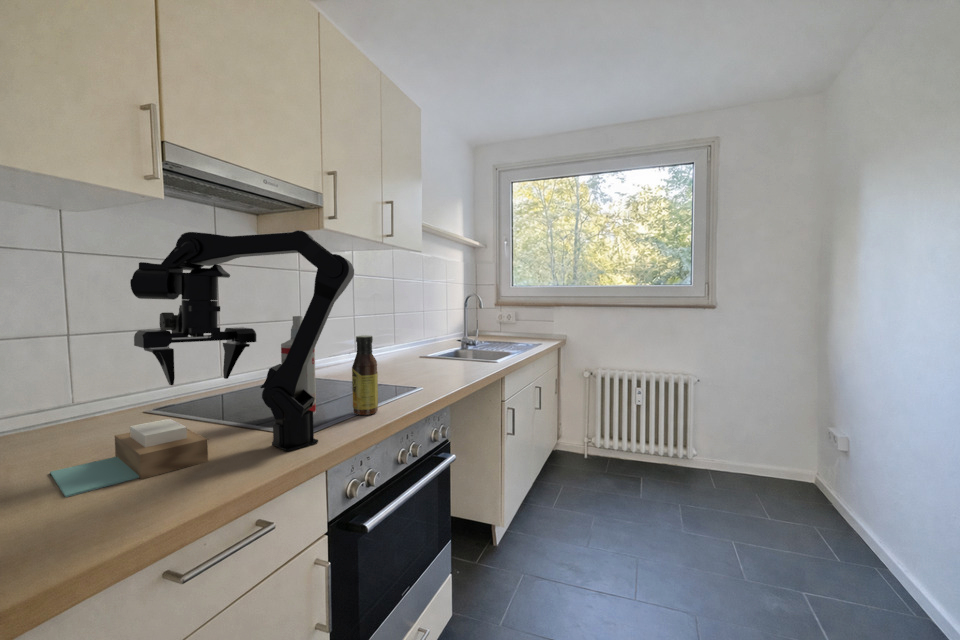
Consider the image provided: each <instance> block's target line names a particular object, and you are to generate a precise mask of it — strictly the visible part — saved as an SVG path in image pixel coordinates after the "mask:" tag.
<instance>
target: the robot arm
mask: <svg viewBox="0 0 960 640" xmlns="http://www.w3.org/2000/svg"><path fill="white" fill-rule="evenodd" d="M175 243H176V244H175V247H174V248H173V249H172V250H171V251H170V253H168V255H167V256H166V257H165V258H164V260H163V261H162V262H161V263H151V262H142V261H141V262H138V268H137V269H136V270H135V271H134V272H133V275H132V276H131V277H132V278H131V279H130V282H129V283H130V289H131V292H132V294H133V295H134V296H135V297H136V298H137V299H141V300H176V299H178V298H179V297H180V296H181V304H179V308H178V314H175V313H174V312H161V313H160V314H159V329H141V330H137V331H136V332H135V333H134V336H133V346H134V347H138V348H142V349H143V350H144V351H145V352H149V353H152V354H153V355H154V356H155V358H156V360H157V361H158V363H159V365H160V367H161V369H162V371H163V374H164V376H165V378H166V380H167V384H168V385H169V386H174V385H175V378H176V377H175V375H176V374H175V350H174V349H175V348H170V346H171V344H175V343H193V342H195V343H196V342H215V341H216V342H217V341H226V342H222V347H223V351H224V356H223V370H222V373H223V379H225V380H227V379H229V377H230V375H231V373H232V372H233V370H234V367H235V365H236V363H237V361H238V359H239V358H240V356H241V355H242V354H243V352H244V350H245V349H246V348H250V346H251V345H250V344H251V343H257V332H256V330H255V329H254V328H252V327H251V328H250V327H243V326H241V327H225V328H224V331H223V330H222V331H221V327H219V325H218V324H219V322H218V318H219V317H218V313H219V312H221V306H220V305H219V303H218V302H219V301H218V300H219V299H218V298H219V297H218V295H219V293H218V292H219V289H218V288H219V285H218V284H219V282H218V281H219V278H228V279H229V278H230V277H231V274H230V273H229V272H228V271H226V270H225V269H224V268H223V267H222V265H220V264H223V263H224V264H225V263H227V262H230V261H232V260H236V259H239V258H245V257H249V258H250V257H260V256H261V257H262V256H272V255H273V256H274V255H284V254H285V255H286V254H297V253H298V254H299V255H301V256H302V257H303V258H304V259H305V260H307V261H308V262H309V263H310V264H311V265H313V266H314V267H315V268H316V269H317V270H316V274H315V278H314V285H313V286H314V290H313V296H312V298H311V300H310V303H309V305H308V307H307V310H306V311H305V314H304V316H303V317H302V318H303V320H302V323H301V325H300V327H299V330H298V332H297V334H296V336H295V339H294V341H293V343H292V345H291V348H290V350H289V352H288V355H287V357H286V359H285V361H284V362H283V364H281V363H279V364H276V365H274V366H272V367H270V368H268V371H267V375H266V378H265V381H264V382H263V384H261V386H260V387H259V388H260V389H262V393H261V399H262V401H263V403H264V404H265V405H266V407H268V408H269V409H270V410H271V413H272V416H273V418H274V423H273V424H272V437H273V441H272V442H271V446H274V447H276V448H278V449H280V450H283V451H285V452H290V451H294V450H297V449H301V448H304V447H307V446H311V445H314V444H317V443H319V439H316V438H314V437H315V436H314V416H313V411H310V410H309V409H310V408H312V406H313V403H314V400H315V398H314V397H313V396H312V395H310V394H309V393H308V392H307V391H306V390H305V389H303V388H304V384H305V380H306V370H307V364H308V362H309V359H310V357H311V355H312V353H313V350H314V348H316V345H317V344H318V341H319V338H320V336H321V335H322V332H323V330H324V328H325V325H326V323H327V320H328V318H329V315H330V314H331V312H332V309H333V307H334V304H335V302H337V300H338V299H339V298H340V296H341V295H342V294H343V292H345V290H346V289H347V287H348V285H349V284H350V283H351V282H352V280H353V278H354V275H355V268H354V265H353V264H352V263H351V262H350V260H348V259H346V258H345V257H343V256H341V254H340V255H339V254H336V253H332V252H330V251H329V250H328V249H327V248H326V247H324V246H322V244H320V243H319V242H317V241H316V240H315V239H314V237H312V235H310V234H309V233H307V232H306V231H303V230H294V231H288V232H276V233H275V232H274V233H259V234H247V235H235V236H234V235H223V234H222V235H221V234H215V233H207V232H197V231H187V232H184V233H182V234H181V235H180V236H179V237H178V238H177V241H176V242H175ZM206 266H207V267H206ZM210 266H211V267H210ZM208 267H210V268H208ZM184 271H190V272H184Z"/></svg>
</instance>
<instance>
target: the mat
mask: <svg viewBox="0 0 960 640" xmlns="http://www.w3.org/2000/svg"><path fill="white" fill-rule="evenodd" d="M49 473H50V476H51V477H52V479H53V481H54V482H55V484H56V485H57V486H58V488H59V489H60V491H61V493H62V494H63V496H64V497H65V498H69V497H72V496H75V495H80V494H83V493H87V492H92V491H95V490H98V489H102V488H106V487H110V486H113V485H117V484H121V483H125V482H129V481H132V480H137V479H140V478H139V475H138V474H136V473H135V472H134V471H133V470H132V469H131V468H130V467H128V466H127V465H126V464H125V463H124V462H123V461H122V460H120V459H119V458H118V457H116V456H113V457H109V458H104V459H99V460H96V461H91V462H87V463H83V464H82V463H81V464H78V465H77V464H76V465H74V466H69V467H65V468H61V469H56V470H51V471H49Z"/></svg>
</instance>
